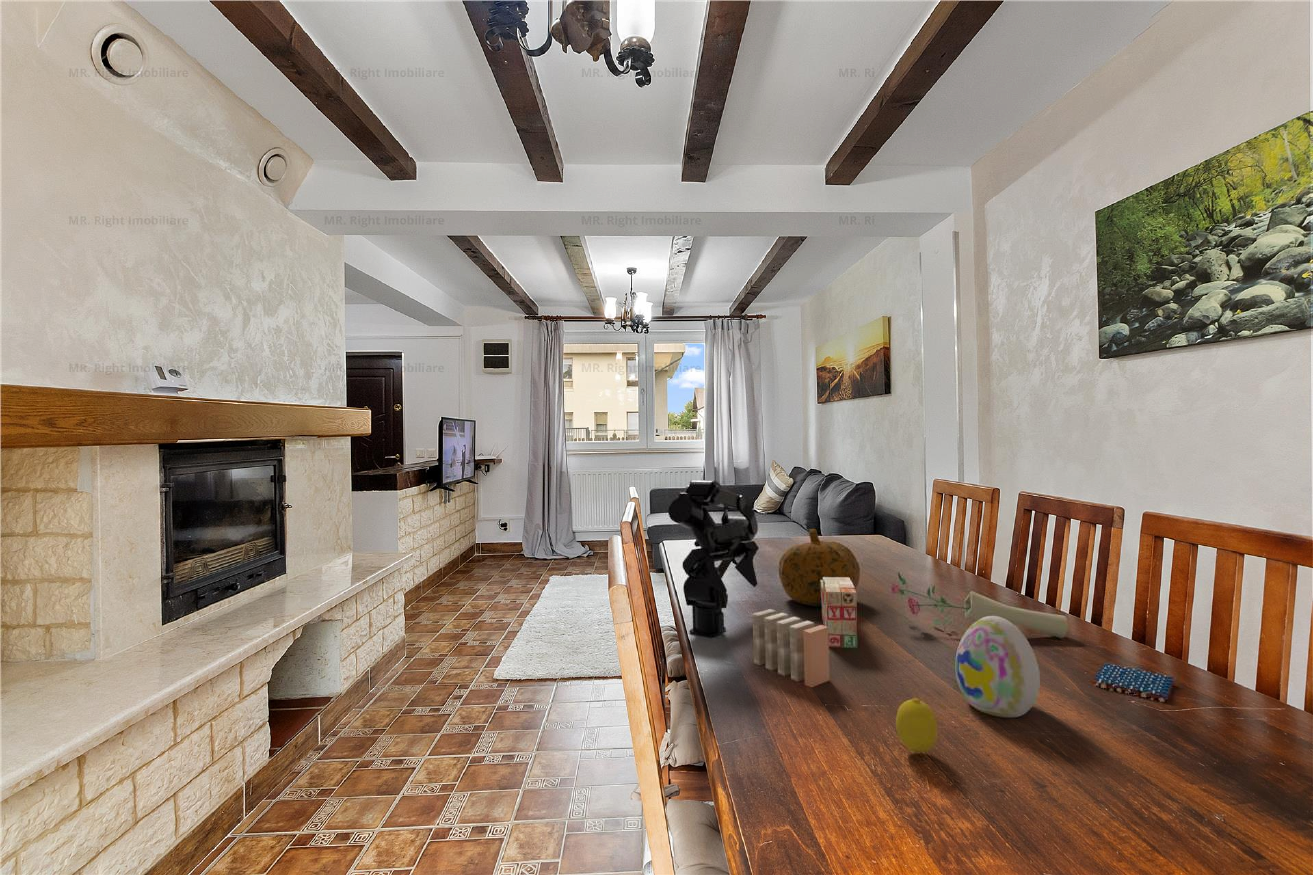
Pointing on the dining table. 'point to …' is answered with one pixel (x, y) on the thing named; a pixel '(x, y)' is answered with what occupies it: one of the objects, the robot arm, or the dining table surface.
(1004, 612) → the flower vase
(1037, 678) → the decorative egg
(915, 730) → the lemon
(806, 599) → the decorative pumpkin
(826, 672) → the domino
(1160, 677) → the woven mat
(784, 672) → the domino
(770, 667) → the domino
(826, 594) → the stack of blocks
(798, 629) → the domino
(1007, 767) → the dining table surface
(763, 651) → the domino
